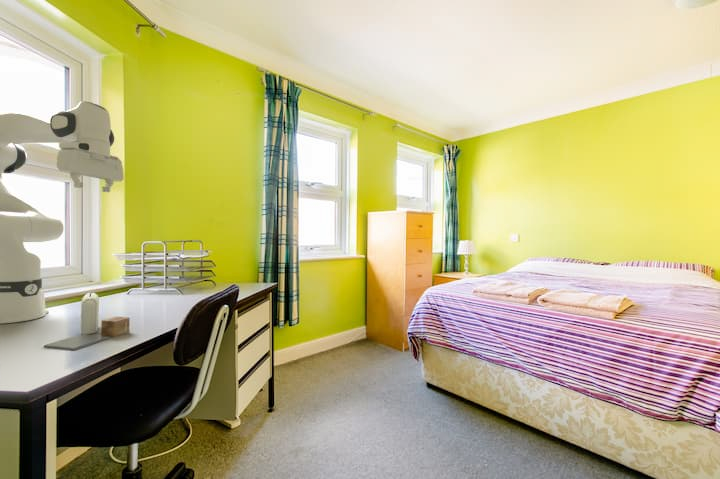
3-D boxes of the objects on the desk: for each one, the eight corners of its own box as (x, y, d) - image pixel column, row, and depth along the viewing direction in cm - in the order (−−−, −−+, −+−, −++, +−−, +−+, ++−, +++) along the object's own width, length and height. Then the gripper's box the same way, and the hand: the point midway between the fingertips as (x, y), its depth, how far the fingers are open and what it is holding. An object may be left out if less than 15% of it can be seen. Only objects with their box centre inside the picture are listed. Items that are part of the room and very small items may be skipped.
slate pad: (43, 347, 85) (43, 345, 85) (81, 335, 95) (81, 334, 95) (73, 350, 84) (73, 348, 84) (108, 338, 94) (108, 336, 94)
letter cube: (101, 336, 96) (101, 320, 96) (116, 331, 101) (116, 316, 101) (115, 337, 95) (115, 321, 95) (129, 332, 100) (129, 317, 100)
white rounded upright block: (82, 327, 103) (82, 291, 103) (98, 325, 106) (99, 290, 106) (79, 336, 95) (80, 296, 95) (97, 333, 98) (98, 295, 98)
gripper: (114, 158, 117) (113, 194, 117) (53, 141, 96) (52, 185, 97) (128, 158, 116) (127, 194, 116) (69, 141, 95) (69, 185, 96)
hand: (92, 190), depth 106 cm, fingers open, 8 cm apart
